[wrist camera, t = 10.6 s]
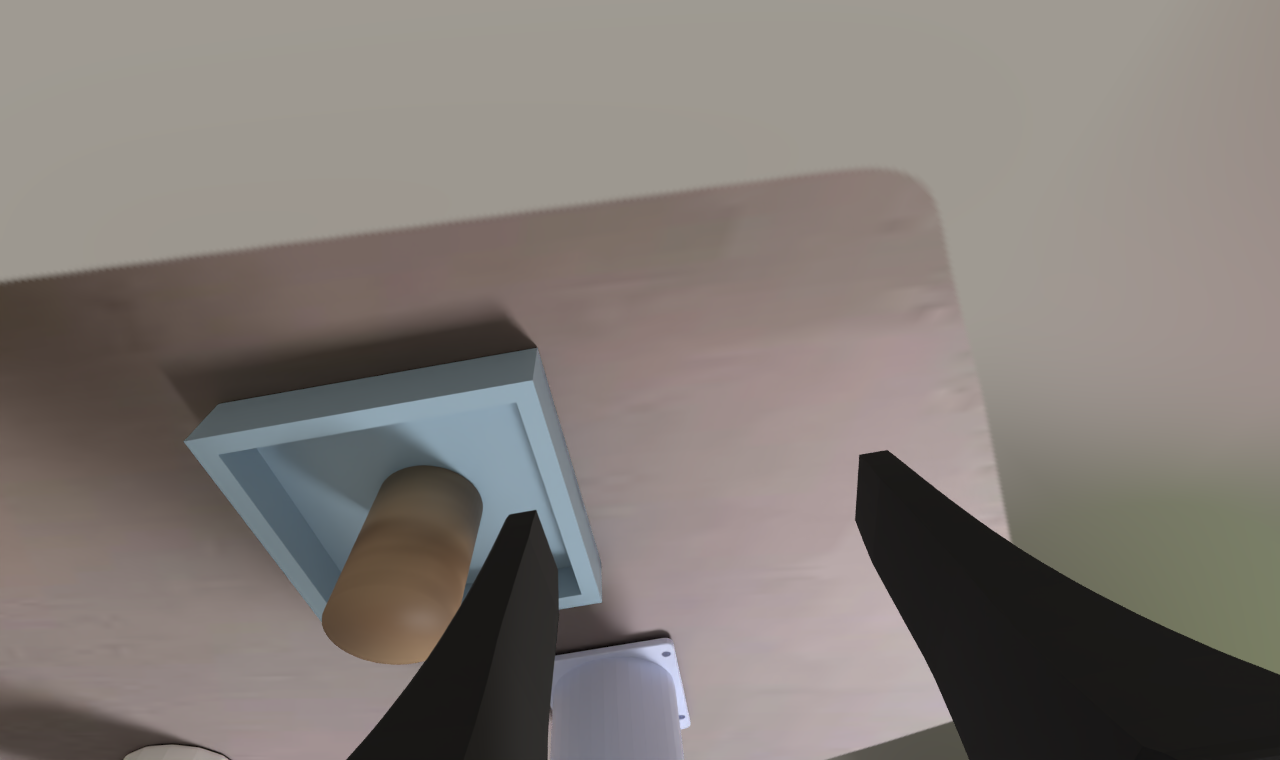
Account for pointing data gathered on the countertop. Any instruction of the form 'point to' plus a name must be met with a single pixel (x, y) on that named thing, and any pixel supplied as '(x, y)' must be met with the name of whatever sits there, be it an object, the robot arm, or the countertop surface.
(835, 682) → the countertop surface
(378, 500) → the tan rounded cylinder
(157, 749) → the white cup
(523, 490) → the light blue square tray
